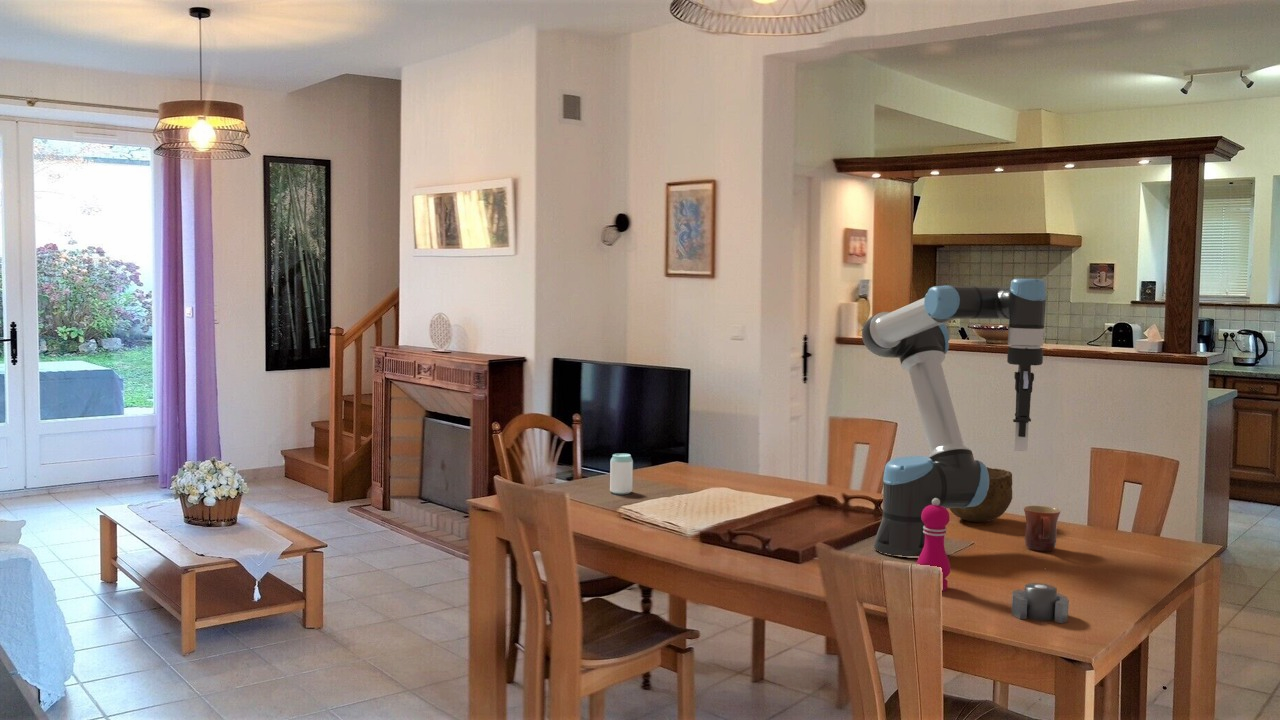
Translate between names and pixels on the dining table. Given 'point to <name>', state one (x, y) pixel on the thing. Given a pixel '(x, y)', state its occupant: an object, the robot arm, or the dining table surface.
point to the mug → (1041, 527)
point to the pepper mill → (935, 538)
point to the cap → (1040, 601)
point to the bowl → (990, 499)
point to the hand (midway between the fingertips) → (1020, 450)
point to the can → (621, 474)
